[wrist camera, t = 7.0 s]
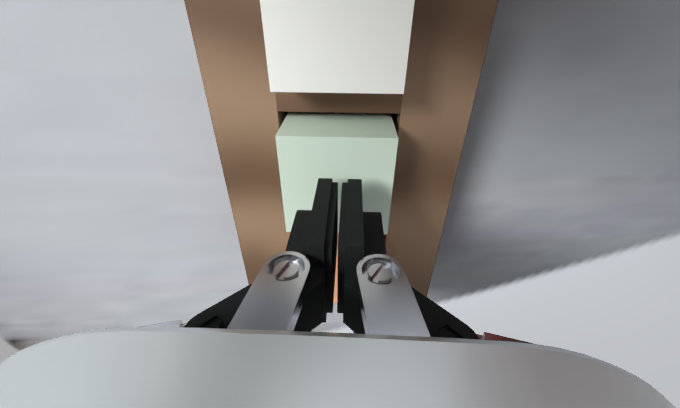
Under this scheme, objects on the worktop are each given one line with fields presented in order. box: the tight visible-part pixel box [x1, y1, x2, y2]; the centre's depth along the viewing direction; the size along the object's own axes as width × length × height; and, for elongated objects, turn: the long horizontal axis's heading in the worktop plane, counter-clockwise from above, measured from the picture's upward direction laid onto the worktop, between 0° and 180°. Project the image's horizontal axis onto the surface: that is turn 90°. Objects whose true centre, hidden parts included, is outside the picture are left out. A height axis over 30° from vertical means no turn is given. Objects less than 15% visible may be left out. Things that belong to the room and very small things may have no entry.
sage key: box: [275, 112, 398, 234], centre depth 14 cm, size 5×5×3 cm
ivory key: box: [260, 0, 415, 94], centre depth 11 cm, size 5×5×3 cm
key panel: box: [184, 0, 498, 296], centre depth 16 cm, size 19×11×3 cm, turn 0°
